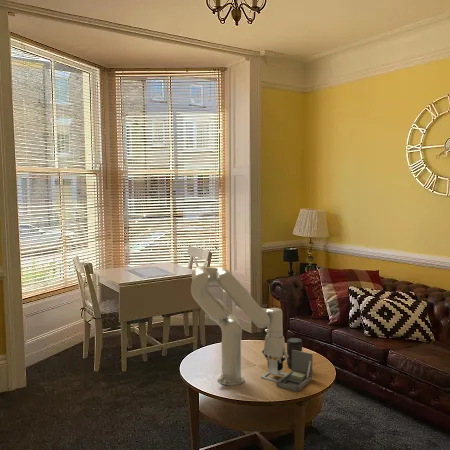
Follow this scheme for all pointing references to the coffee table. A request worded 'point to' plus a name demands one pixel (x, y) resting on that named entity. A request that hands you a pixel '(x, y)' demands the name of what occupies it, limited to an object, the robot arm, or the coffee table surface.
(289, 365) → the camera lens
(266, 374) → the tray
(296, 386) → the case
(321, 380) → the coffee table surface
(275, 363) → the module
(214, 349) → the coffee table surface
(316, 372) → the coffee table surface
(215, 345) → the coffee table surface
